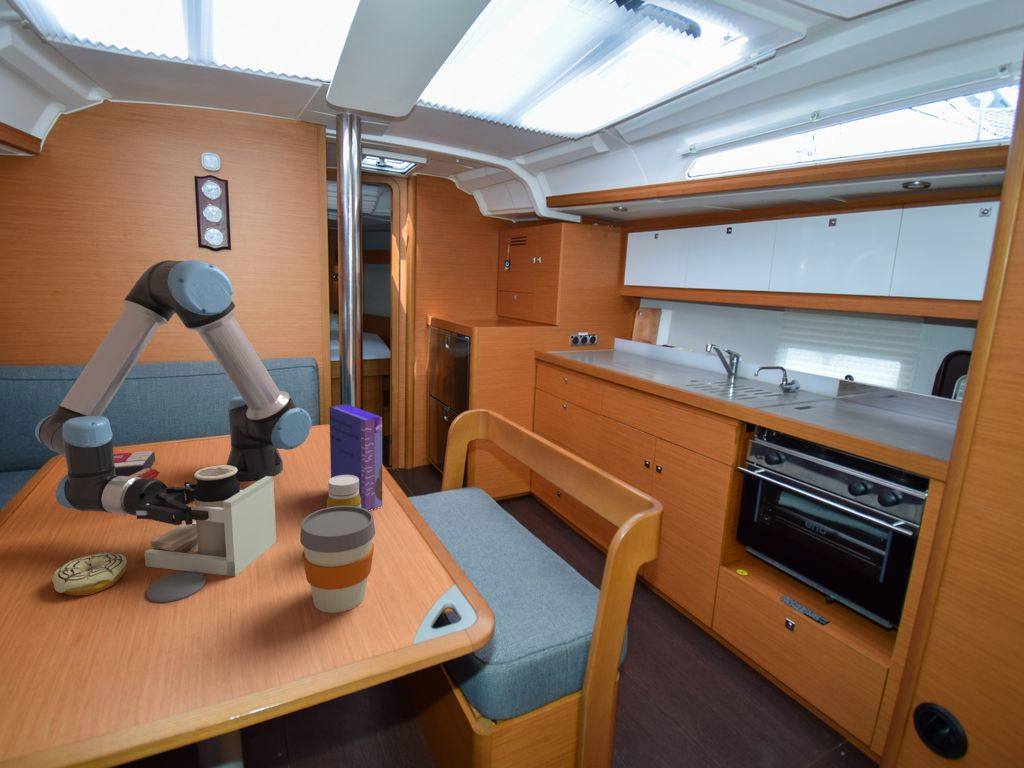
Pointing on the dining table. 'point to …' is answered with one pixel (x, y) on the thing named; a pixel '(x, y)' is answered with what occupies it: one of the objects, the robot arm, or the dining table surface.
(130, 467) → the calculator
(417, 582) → the dining table surface
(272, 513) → the rack
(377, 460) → the purple rectangular box
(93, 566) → the decorated donut
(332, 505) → the bottle
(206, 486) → the travel mug
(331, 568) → the reusable coffee cup
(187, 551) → the offcut stack
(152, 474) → the candy bar
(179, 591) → the coaster
